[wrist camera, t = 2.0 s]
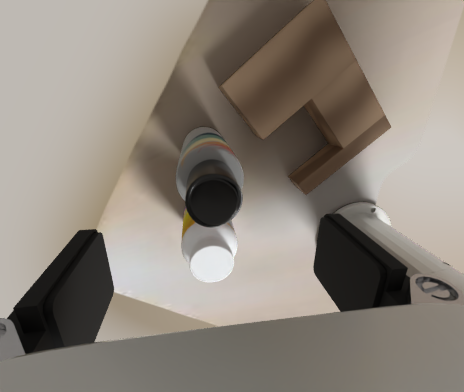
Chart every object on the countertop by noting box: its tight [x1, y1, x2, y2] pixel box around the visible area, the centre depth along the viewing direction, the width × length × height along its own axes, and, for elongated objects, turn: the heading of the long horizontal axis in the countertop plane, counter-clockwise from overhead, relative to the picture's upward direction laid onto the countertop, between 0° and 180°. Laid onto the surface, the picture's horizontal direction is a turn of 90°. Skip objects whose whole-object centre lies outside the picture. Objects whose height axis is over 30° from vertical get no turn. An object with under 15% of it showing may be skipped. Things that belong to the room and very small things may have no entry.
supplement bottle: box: [181, 207, 238, 282], centre depth 32 cm, size 7×7×13 cm
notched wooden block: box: [219, 0, 391, 195], centre depth 32 cm, size 18×14×4 cm
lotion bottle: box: [176, 127, 244, 228], centre depth 25 cm, size 6×6×20 cm
